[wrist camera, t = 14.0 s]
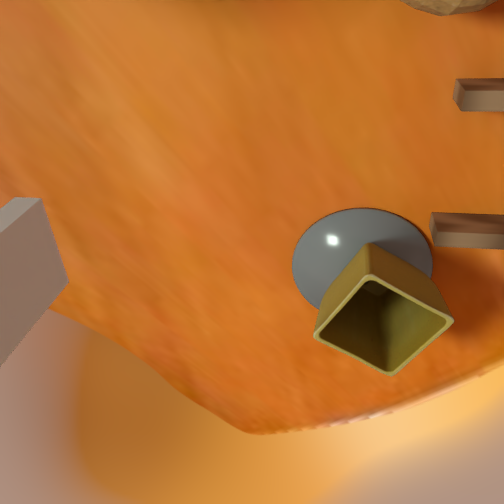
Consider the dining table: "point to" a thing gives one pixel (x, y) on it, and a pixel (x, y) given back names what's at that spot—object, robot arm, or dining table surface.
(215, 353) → the dining table surface
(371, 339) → the flower pot
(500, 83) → the wooden blocks
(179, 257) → the dining table surface
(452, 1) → the potato
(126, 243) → the dining table surface
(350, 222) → the grey round disc
